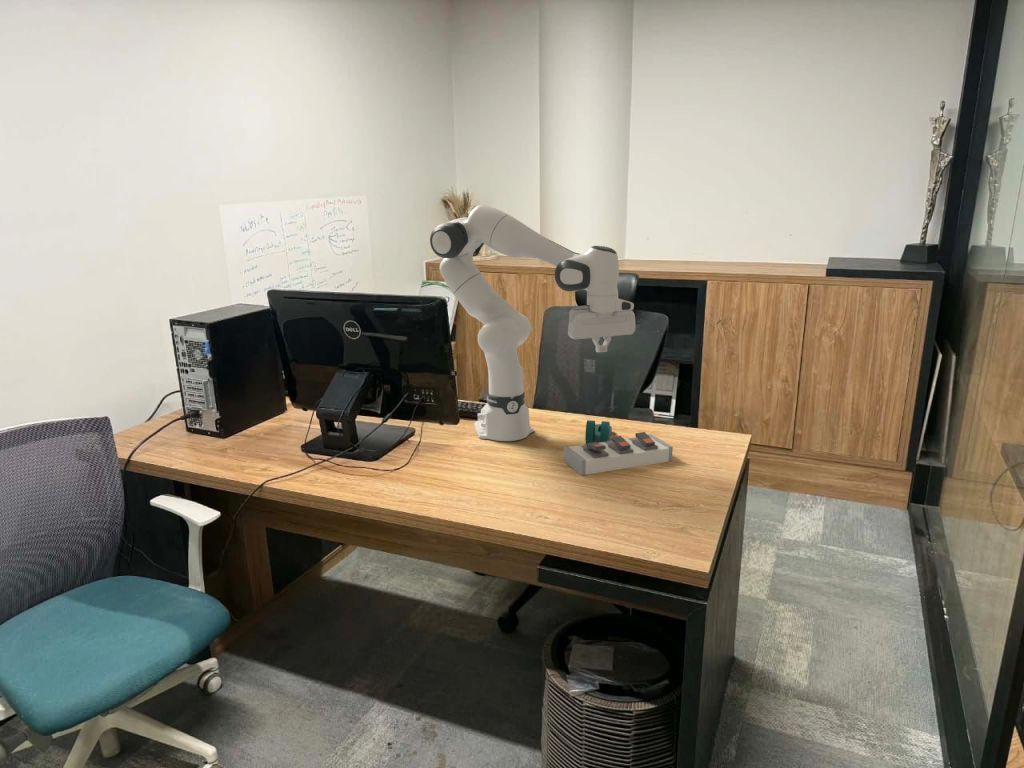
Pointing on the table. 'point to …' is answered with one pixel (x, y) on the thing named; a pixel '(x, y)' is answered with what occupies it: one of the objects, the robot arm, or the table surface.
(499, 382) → the robot arm
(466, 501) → the table surface
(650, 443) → the rocker
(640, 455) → the power strip
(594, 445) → the rocker
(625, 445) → the rocker
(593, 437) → the bracket
